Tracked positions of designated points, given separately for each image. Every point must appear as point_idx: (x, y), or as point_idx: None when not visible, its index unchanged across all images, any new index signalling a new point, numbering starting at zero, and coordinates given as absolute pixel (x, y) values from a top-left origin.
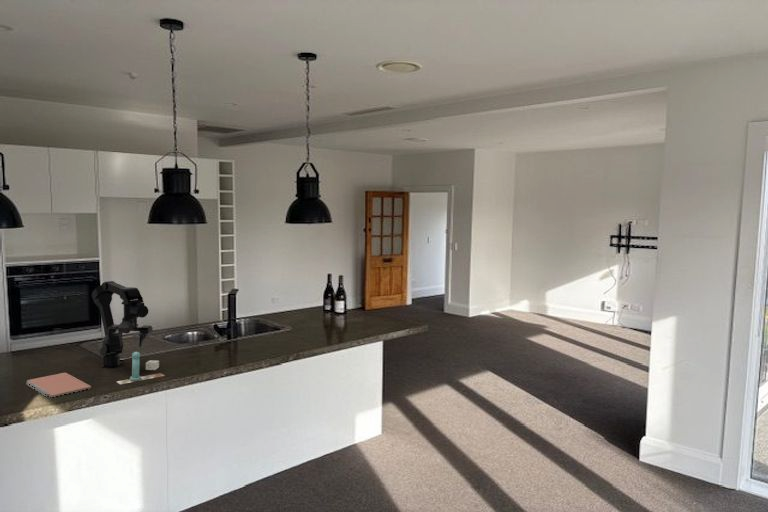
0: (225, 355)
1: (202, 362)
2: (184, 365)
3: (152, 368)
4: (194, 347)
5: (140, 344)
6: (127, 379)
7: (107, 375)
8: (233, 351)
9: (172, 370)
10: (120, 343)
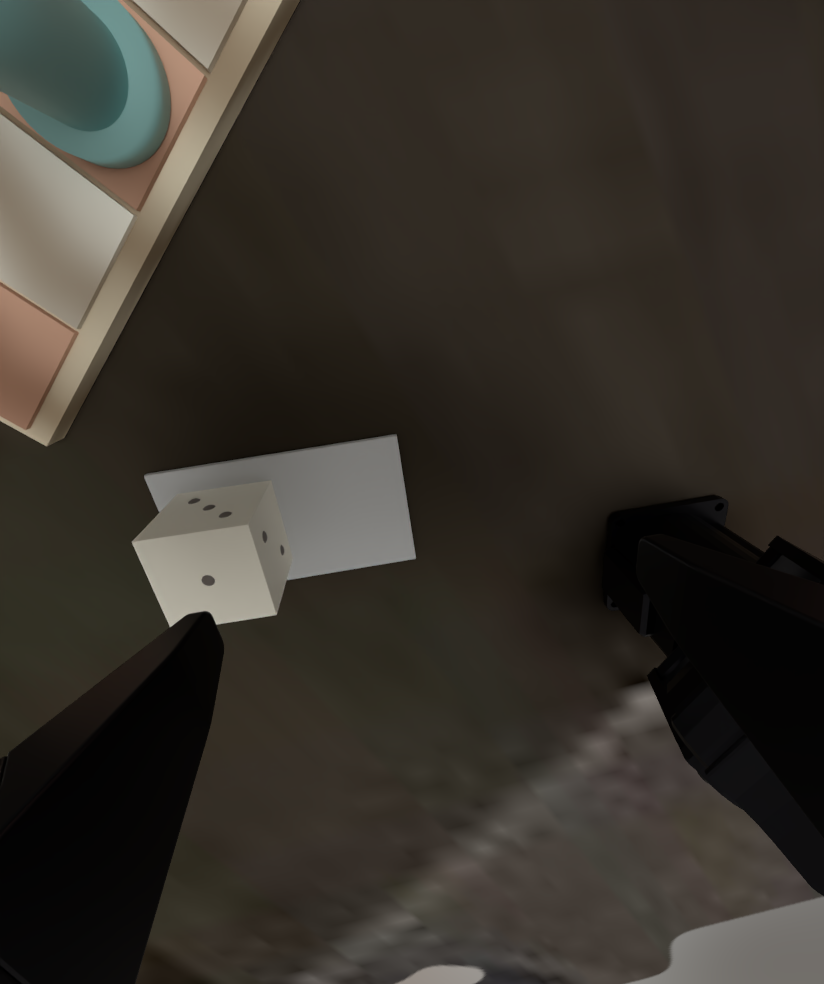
0: None
1: None
2: None
3: (189, 507)
4: (321, 951)
5: (138, 656)
6: (205, 63)
7: (585, 311)
8: None
9: (89, 593)
10: (696, 571)
